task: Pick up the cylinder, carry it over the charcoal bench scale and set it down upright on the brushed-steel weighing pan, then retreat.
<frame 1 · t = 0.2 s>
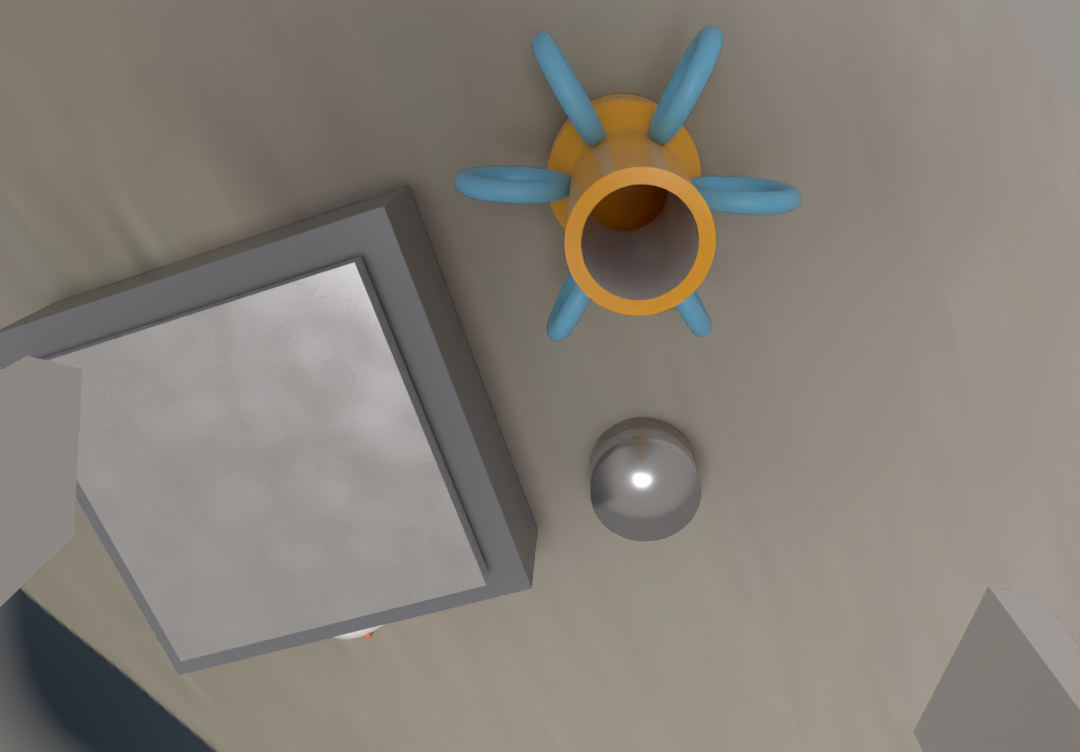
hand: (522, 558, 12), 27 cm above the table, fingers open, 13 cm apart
pan: (278, 455, 38), point 4 cm above the table, slide at 1.2 cm
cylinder: (620, 165, 37), on the table
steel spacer: (641, 463, 42), on the table
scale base: (304, 420, 42), on the table
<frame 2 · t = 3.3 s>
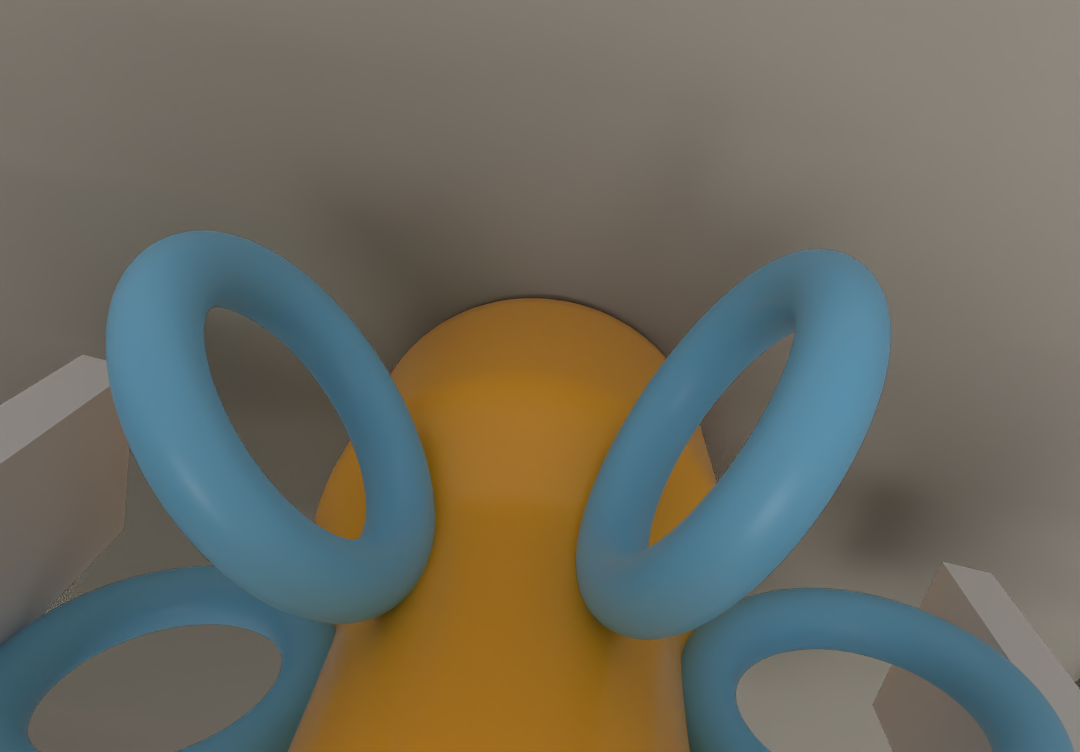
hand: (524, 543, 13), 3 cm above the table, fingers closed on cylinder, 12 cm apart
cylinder: (537, 441, 16), on the table, touching gripper
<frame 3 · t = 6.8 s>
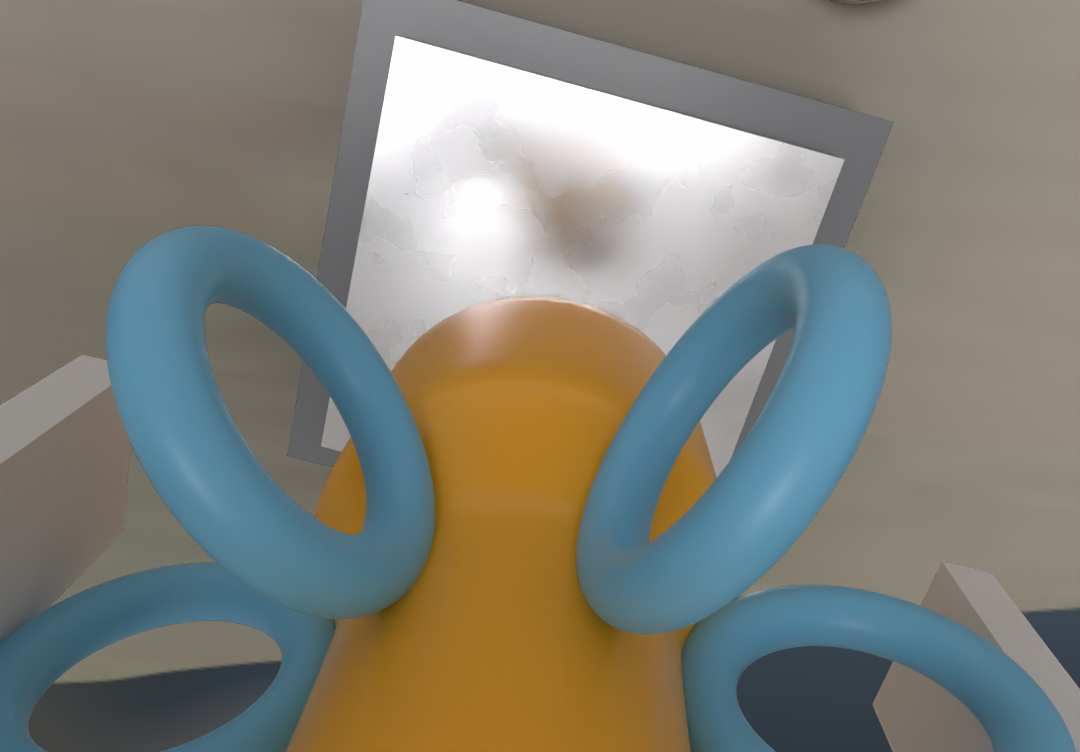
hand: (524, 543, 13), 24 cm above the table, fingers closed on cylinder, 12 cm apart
pan: (564, 294, 33), point 4 cm above the table, slide at 1.2 cm
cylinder: (537, 439, 16), point 21 cm above the table, touching gripper
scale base: (566, 270, 36), on the table
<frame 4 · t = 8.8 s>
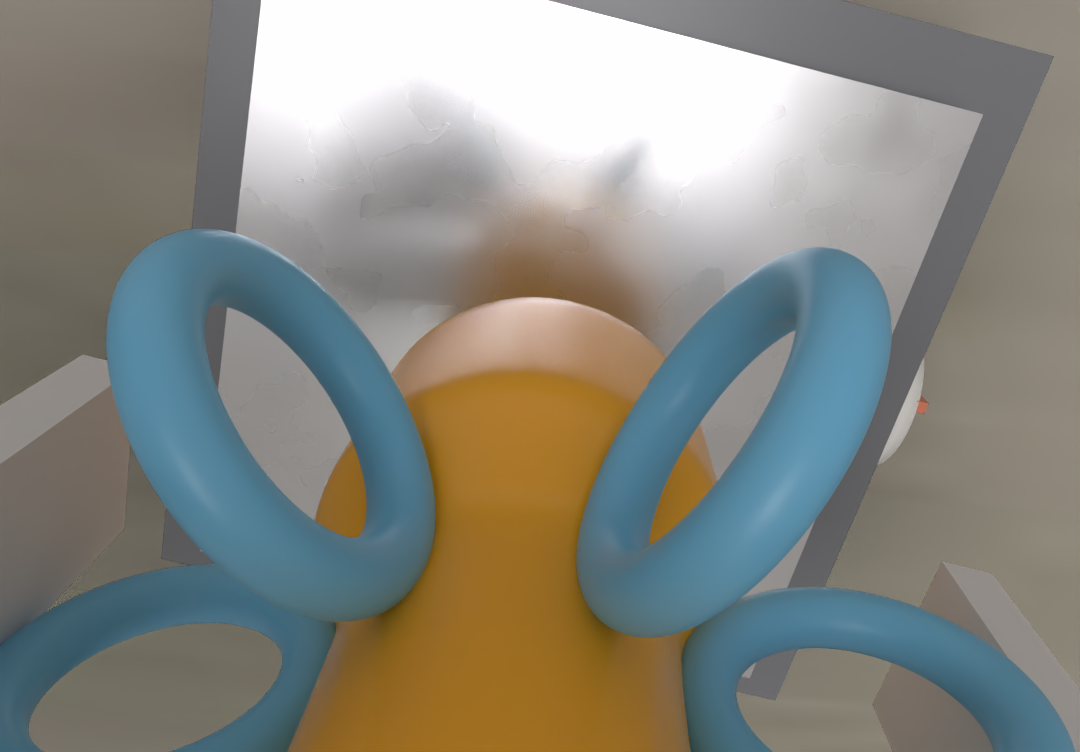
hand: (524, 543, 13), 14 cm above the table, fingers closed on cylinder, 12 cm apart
pan: (549, 326, 23), point 4 cm above the table, slide at 1.2 cm
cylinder: (537, 440, 16), point 11 cm above the table, touching gripper
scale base: (554, 288, 26), on the table
when the fingers open (12 cm above the table, at t = 10.3 s): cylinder drops 3 cm, resting on pan.
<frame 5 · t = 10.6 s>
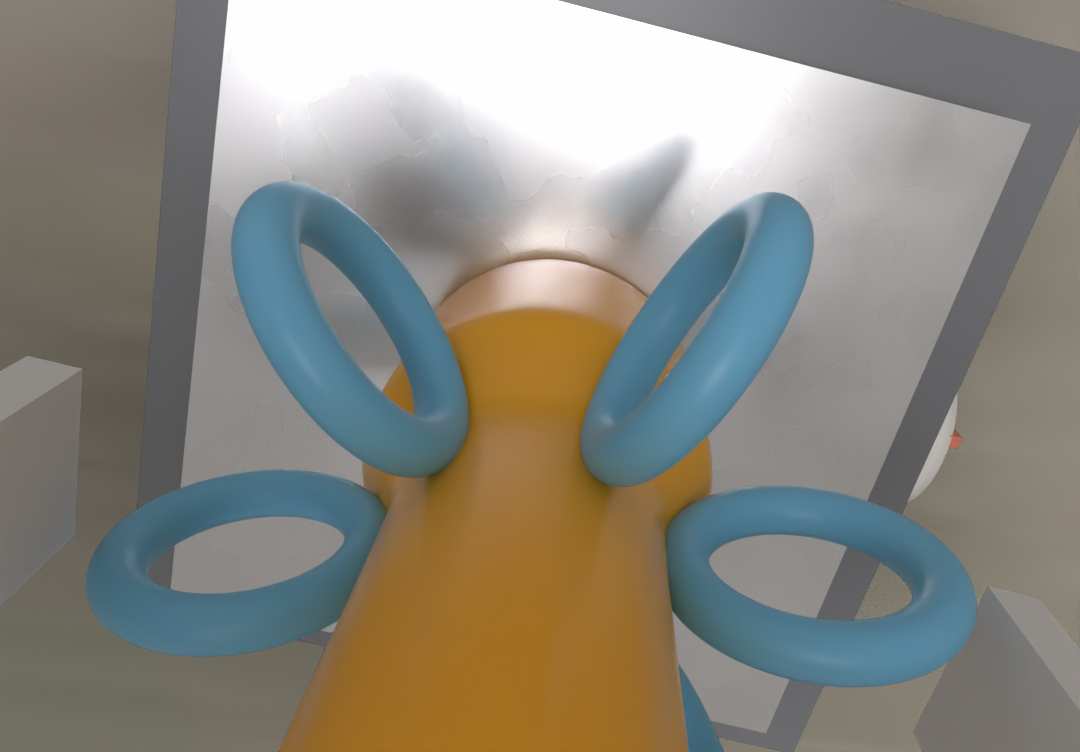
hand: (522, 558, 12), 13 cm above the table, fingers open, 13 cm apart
pan: (548, 352, 21), point 4 cm above the table, slide at 1.3 cm, touching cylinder
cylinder: (549, 387, 19), point 6 cm above the table, touching pan
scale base: (554, 308, 24), on the table
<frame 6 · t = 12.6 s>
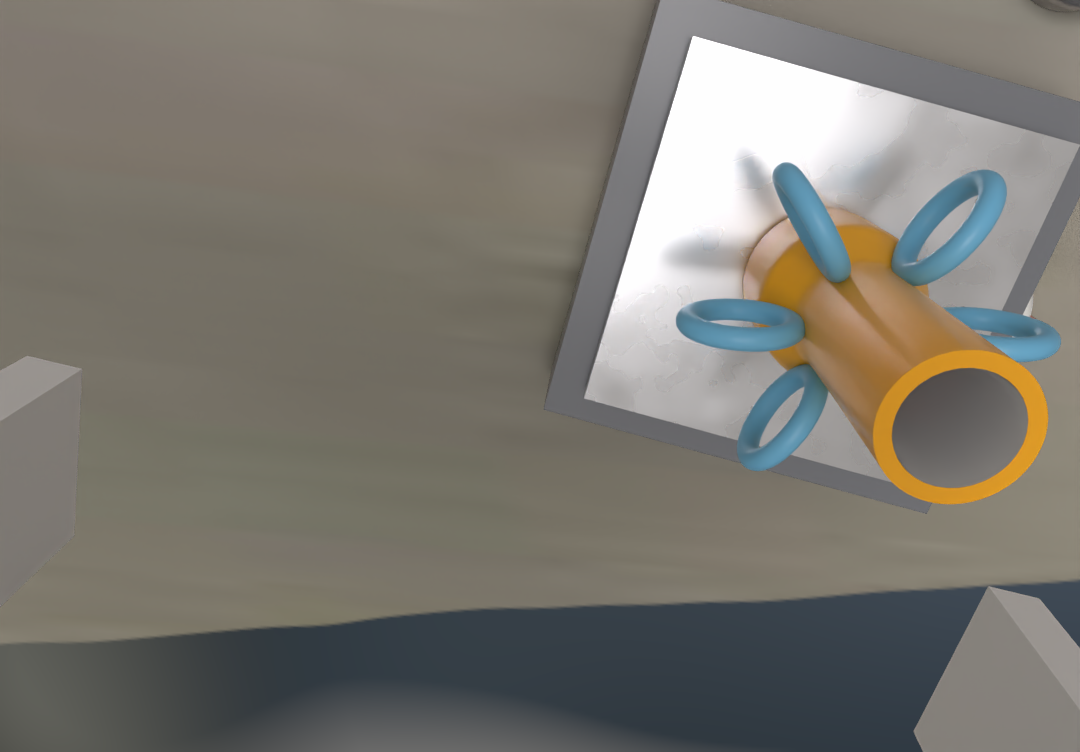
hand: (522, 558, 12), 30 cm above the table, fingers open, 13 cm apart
pan: (801, 266, 37), point 4 cm above the table, slide at 1.3 cm, touching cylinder
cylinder: (816, 279, 35), point 6 cm above the table, touching pan
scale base: (785, 249, 41), on the table
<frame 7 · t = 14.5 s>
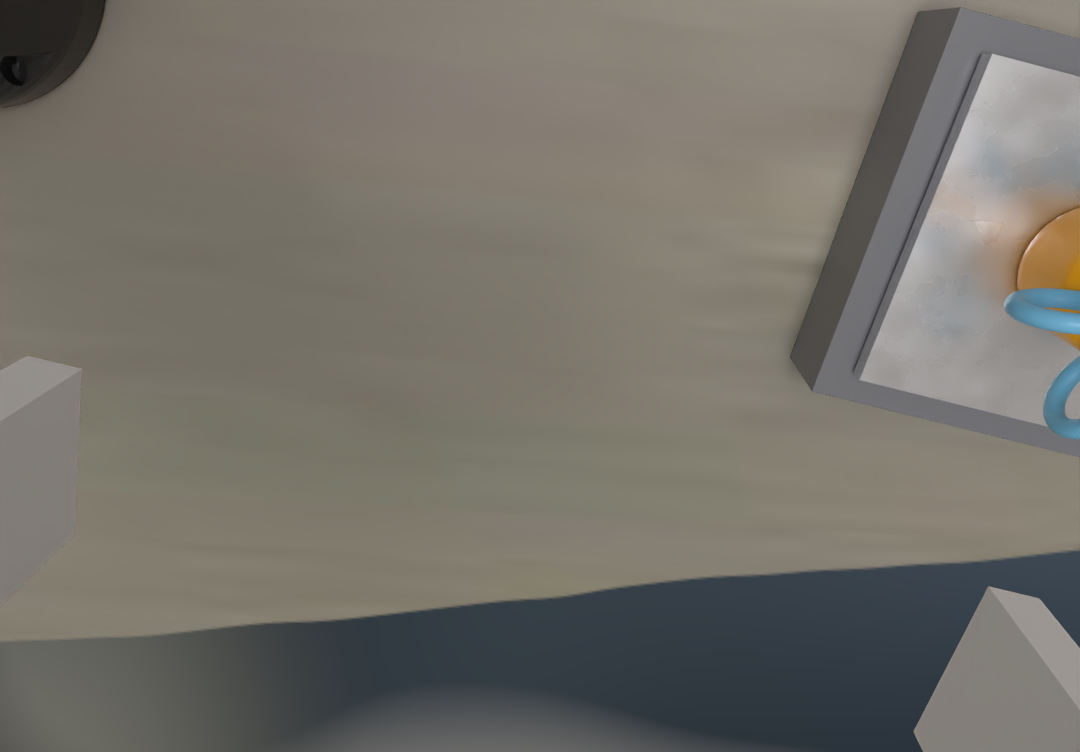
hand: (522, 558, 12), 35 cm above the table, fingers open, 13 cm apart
pan: (1052, 256, 41), point 4 cm above the table, slide at 1.3 cm, touching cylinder
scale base: (1016, 239, 45), on the table
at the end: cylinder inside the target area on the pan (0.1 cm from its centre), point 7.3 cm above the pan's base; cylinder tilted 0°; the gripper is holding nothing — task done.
